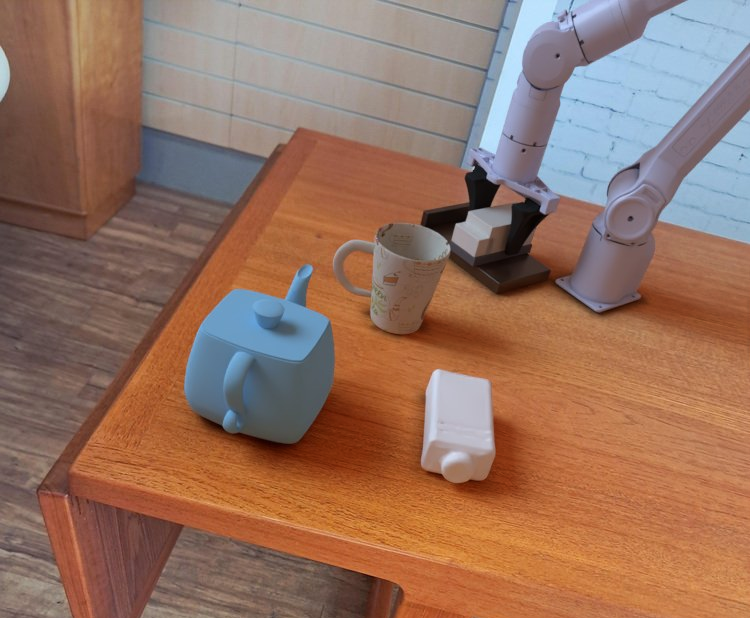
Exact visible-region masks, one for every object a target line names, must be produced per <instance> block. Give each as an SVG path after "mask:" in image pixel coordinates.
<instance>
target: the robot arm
mask: <svg viewBox="0 0 750 618" xmlns="http://www.w3.org/2000/svg"><path fill="white" fill-rule="evenodd" d="M685 2H688V0H588V1H586V2H585V3H583V4H582V5H580V6H578V7H576V8H574V9H573V10H571V11H570V12H568V10H567V9H566V8H565V9H563V10H562V11H560V12H558V13H557V15H556V18H557V21H554V20H552V21H547V22H545V23H542V24H541V25H540V26H538V27H537V28H536V29H535V30H534V31H533V33H532V34H531V36H530V38H529V40H528V41H527V43H526V45H525V47H524V51H523V53H522V59H521V66H522V69H521V72H519V74H518V77H517V81H516V86H517V87H515V89H514V90H513V92H512V95H511V99H510V103H509V105H508V110H507V113H506V116H505V120H504V123H503V127H502V131H501V134H500V137H499V141H498V145H497V149H496V152H495V153H493V152H491V151H488V150H486V149H484V148H483V147H474V148H470V149H469V153H468V155H467V156H468V157H467V161H466V164H467V165H468V166H470V167H473V169H472V171H468V172H466V173H465V176H464V182H465V185H466V189H467V195H468V202H469V207H470V211H473V210H478V209H483V208H488V207H492V204H493V202H494V199H495V197H496V195H497V193H498V191H499V189H500V187H501V185H502V186H504V187H506V188H508V189H509V190H511V191H513V192H514V193H515V194H517V195H519V196H520V197H522V198H523V199H524V201H520V202H517V203H514V202H513V203H514V204H512V207H511V208H512V219H511V227H510V232H509V235H508V239H507V242H506V246H505V252H504V253H505V254H506V255H507V256H510V255H514V254H518V253H519V251H520V249H521V247H522V246H523V244H524V243H525V241H526V240H527V238H528V237H529V235H530V234H531V233H532V231H533V230H534V229H535V228H536V229H537V227H538V226H539V225H540V224H541V223H542V222H543V221H544V220H545V219H546V218H547V217H548V216H549V215H550V214H554V213H556V212H557V209H558V207H559V203H560V201H561V197H560V196H559V195H557V194H556V193H555V192H553V191H552V190H551V188H549V186H547V184H545V182H544V181H543V180H542V179H541V178H540V177H539V176H538V175H539V171H540V169H541V165H542V162H543V159H544V157H545V153H546V150H547V147H548V143H549V140H550V137H551V135H552V131H553V128H554V127H555V122H556V120H557V116H558V114H559V110H560V107H561V96H562V93H563V90H564V87H565V84H566V83H567V82H568V81H569V80H570V78H571V77H572V75H573V73H574V71H575V69H576V68H578V67H588V66H589V65H592V64H593V63H595V62H597V61H599V60H601V59H602V58H604V57H607V56H609V55H611V54H612V53H614V52H616V51H619V50H620V49H622V48H624V47H625V46H628V45H629V44H631V43H634V42H635V41H637V40H639V39H641V38H642V36H643V35H644V32H645V30H646V28H647V25H648V23H649V21H650V20H651V19H652V18H655V17H656V16H658V15H660V14H662V13H665V12H666V11H669V10H670V9H673V8H675V7H677V6H679V5H681V4H683V3H685ZM749 112H750V42H749V43H748V44H747V45H746V46H745V47H744V48H743V49H742V51H741V52H739V54H738V55H737V56H736V57H735V58H734V60H733V61H732V62H731V63H729V65H728V66H727V67H726V68H725V70H723V72H722V73H721V74H720V75H719V76H718V77H717V78H716V79H715V80H714V82H713V83H711V85H710V86H708V88H707V89H706V90H705V91H704V93H703V94H702V95H701V96H700V97H699V98H698V99H697V100H696V101H695V103H694V104H693V105H692V106H691V107H690V108H689V109H688V110H687V111H686V113H684V115H683V116H682V117H681V118H680V119H679V120H678V121H677V123H675V125H674V126H673V127H672V128H671V129H670V130H669V131H668V132H667V133H666V135H665V136H664V137H663V138H662V139H661V140H660V141H659V142H658V143H657V144H656V145H655V146H654V147H652V148H650V149H648V150H647V151H645V152H644V153H643V154H642V155H641V156H640V157H639V158H638V159H637V160H636V161H634V163H632V164H631V165H628V166H625V167H623V168H621V169H619V170H617V172H616V173H615V174H614V175H613V176H612V177H611V178H610V180H609V182H608V184H607V188H606V205H605V209H603V210H602V211H601V212H599V213H598V214H597V215H596V216H594V218H593V221H592V223H591V226H590V228H589V231H588V234H587V236H586V238H585V241H584V244H583V246H582V248H581V251H580V254H579V256H578V258H577V261H576V264H575V266H574V269H573V271H572V274H570V275H566V276H563V277H559V278H556V279H555V284H556V285H557V286H559V287H560V288H562V289H563V290H564V291H565V292H567V293H569V294H570V295H571V296H573V297H574V298H576V299H577V300H579V301H580V302H581V303H583V304H584V305H585V306H587V307H588V308H589V309H591V310H593V311H594V312H595V313H602V312H605V311H608V310H612V309H614V308H617V307H620V306H624V305H627V304H629V303H632V302H635V301H638V300H641V299H642V295H641V294H640V293H638V290H639V288H640V285H641V284H642V282H643V279H644V277H645V275H646V273H647V271H648V269H649V267H650V264H651V263H652V260H653V258H654V255H655V252H656V240H655V236H654V234H653V231H654V230H655V229H656V226H657V224H658V221H659V219H660V216H661V214H662V213H663V211H664V209H665V208H666V207H667V206H668V205H669V204H670V203H671V202H672V201H673V198H674V197H675V195H676V193H677V192H678V190H679V188H680V186H681V184H682V182H683V181H684V179H685V178H687V176H688V175H689V174H690V173H691V172H692V171H693V170H694V169H695V168H696V167H697V165H698V164H699V163H701V162H702V160H704V158H706V156H707V155H709V153H710V152H711V151H712V150H713V149H714V148H715V147H716V146H717V145H718V144H719V143H720V142H721V141H722V140H723V139H724V138H725V137H726V136H727V134H729V132H730V131H731V130H733V128H734V127H735V126H736V125H737V124H738V123H739V122H740V121H741V120H742V119H743V118H744V117H745V116H746V115H747V114H748V113H749Z"/></svg>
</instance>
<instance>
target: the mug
mask: <svg viewBox="0 0 750 618" xmlns="http://www.w3.org/2000/svg"><path fill="white" fill-rule="evenodd" d="M420 225H421V224H415V223H409V222H391V223H387V224H384V225H382V226H380V227H379V228H378V229H377V230H376V232H375V235H374V241H373V242H371V241H367V240H363V239H351V240H349V241H346V242H345V243H343V244H342V245H341V246H339V248H338V249H337V250H336V252H335V254H334V255H333V260H332V270H333V274H334V277H335V279H336V280H337V282H338V284H340V285H341V286H342V288H343V289H345V290H346V291H347V292H349V293H350V294H352V295H354V296H358V297H363V298H369V299H370V310H369V311H370V312H369V313H370V314H369V315H370V320H371V321H372V323H373V325H375V326H376V327H377V328H379V329H381V331H382V330H383V331H384V332H388V333H390V334H395V335H409V334H413V333H415V332H417V331H418V330H419V329H420V327H422V326H421V325H422V323H423V321H424V319H425V316H426V314H427V311H428V309H429V306H430V304H431V302H432V299H433V297H434V294H435V292H436V289H437V287H438V285H439V282H440V280H441V278H442V276H443V273H444V270H445V268H446V265H447V263H448V261H449V259H450V258H449V255H450V245H449V243H448V242H447V240H446V239H445V238H444V237H443V236H441V235H440V234H438V233H437V232H435V231H433V230H431V229H429V228H426V227H423V226H420ZM354 252H361V253H366V254H369V255H372V257H373V260H372V276H371V277H372V278H371V290H369V289H364V288H362V287H358V286H357V287H356V286H354V285H353V283H351V281H349V278H348V277H347V275H346V273H345V268H344V264H345V261H346V259H347V257H349V256H350V255H351V254H352V253H354Z"/></svg>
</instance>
